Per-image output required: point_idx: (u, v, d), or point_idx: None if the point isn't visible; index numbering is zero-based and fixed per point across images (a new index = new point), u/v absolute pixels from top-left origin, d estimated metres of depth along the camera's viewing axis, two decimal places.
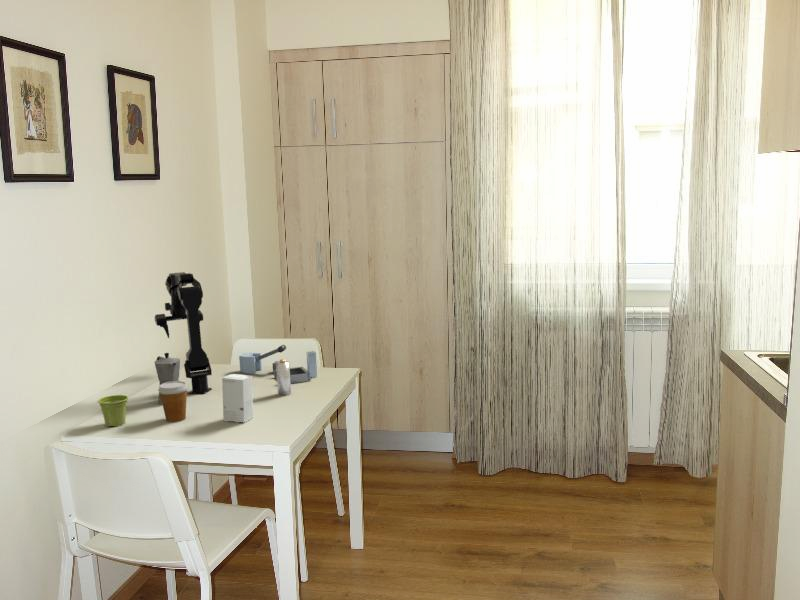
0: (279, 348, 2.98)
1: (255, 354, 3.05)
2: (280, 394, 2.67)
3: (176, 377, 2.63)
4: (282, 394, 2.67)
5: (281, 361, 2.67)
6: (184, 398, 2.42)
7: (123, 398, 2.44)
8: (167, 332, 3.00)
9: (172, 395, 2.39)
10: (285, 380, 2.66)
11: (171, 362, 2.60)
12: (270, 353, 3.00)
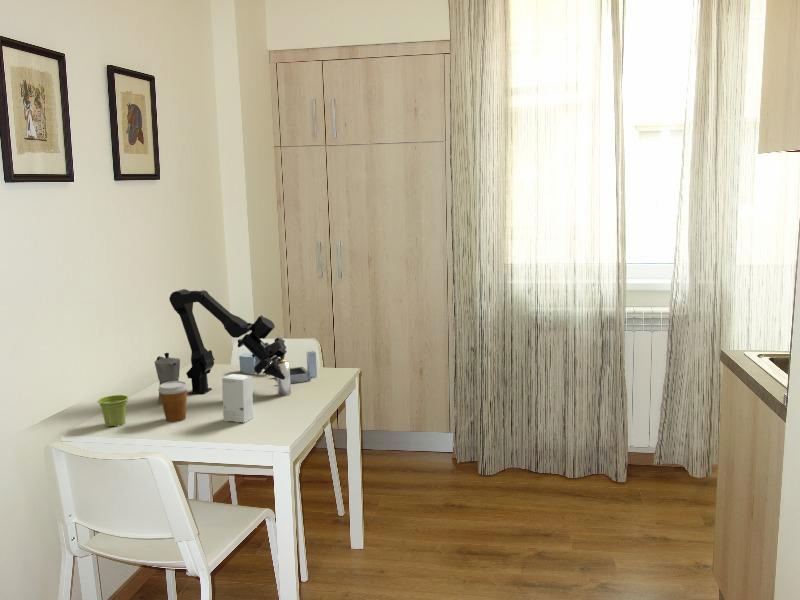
0: None
1: None
2: (280, 394, 2.67)
3: (176, 377, 2.63)
4: (282, 394, 2.67)
5: (281, 361, 2.67)
6: (184, 398, 2.42)
7: (123, 398, 2.44)
8: None
9: (172, 395, 2.39)
10: (285, 380, 2.66)
11: (171, 362, 2.60)
12: None
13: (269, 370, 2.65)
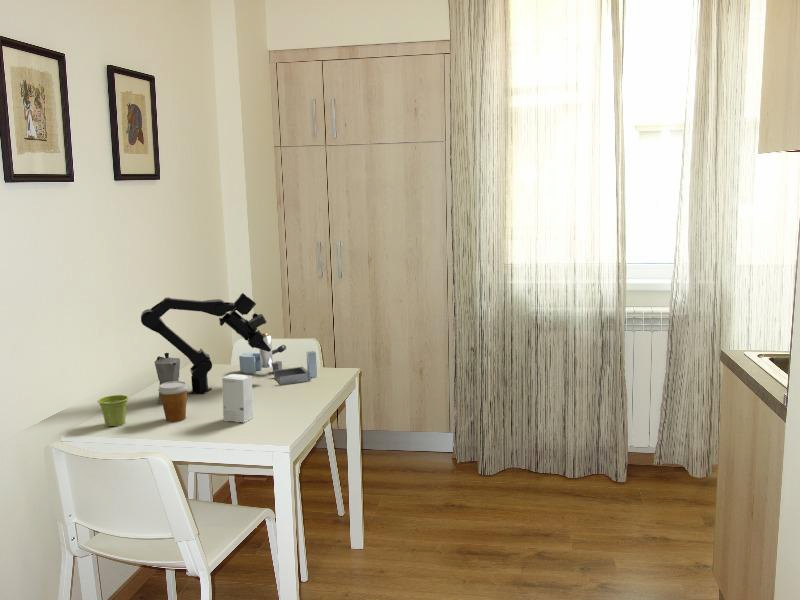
0: (279, 348, 2.98)
1: (255, 354, 3.05)
2: (265, 366, 2.82)
3: (176, 377, 2.63)
4: (267, 366, 2.82)
5: (265, 335, 2.82)
6: (184, 398, 2.42)
7: (123, 398, 2.44)
8: None
9: (172, 395, 2.39)
10: (270, 352, 2.82)
11: (171, 362, 2.60)
12: None
13: (257, 344, 2.78)
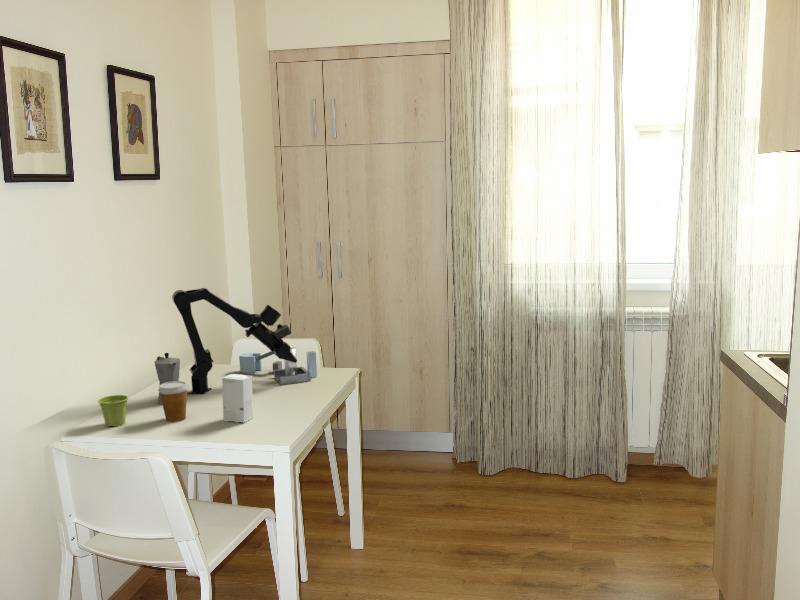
0: None
1: (255, 354, 3.05)
2: None
3: (176, 377, 2.63)
4: None
5: (290, 347, 2.87)
6: (184, 398, 2.42)
7: (123, 398, 2.44)
8: None
9: (172, 395, 2.39)
10: (295, 364, 2.88)
11: (171, 362, 2.60)
12: (270, 353, 3.00)
13: None
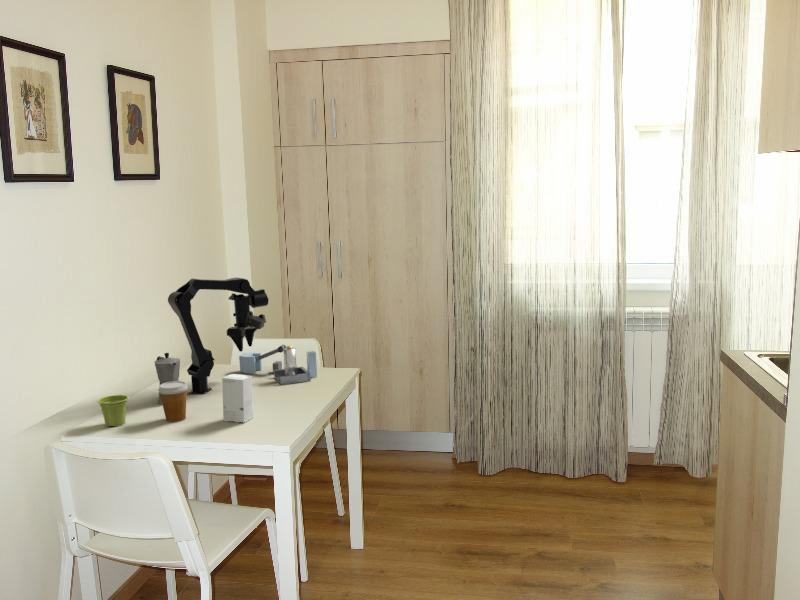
0: (279, 348, 2.98)
1: (255, 354, 3.05)
2: None
3: (176, 377, 2.63)
4: None
5: (289, 347, 2.87)
6: (184, 398, 2.42)
7: (123, 398, 2.44)
8: None
9: (172, 395, 2.39)
10: (295, 364, 2.88)
11: (171, 362, 2.60)
12: (270, 353, 3.00)
13: (235, 337, 2.81)
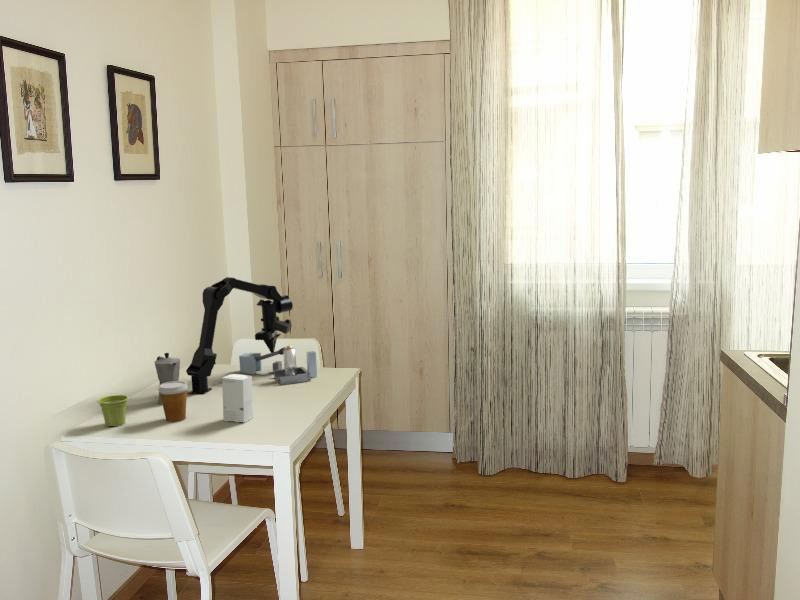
0: (280, 350, 2.98)
1: (255, 354, 3.05)
2: None
3: (176, 377, 2.63)
4: None
5: (289, 347, 2.87)
6: (184, 398, 2.42)
7: (123, 398, 2.44)
8: None
9: (172, 395, 2.39)
10: (295, 364, 2.88)
11: (171, 362, 2.60)
12: (271, 354, 3.00)
13: None
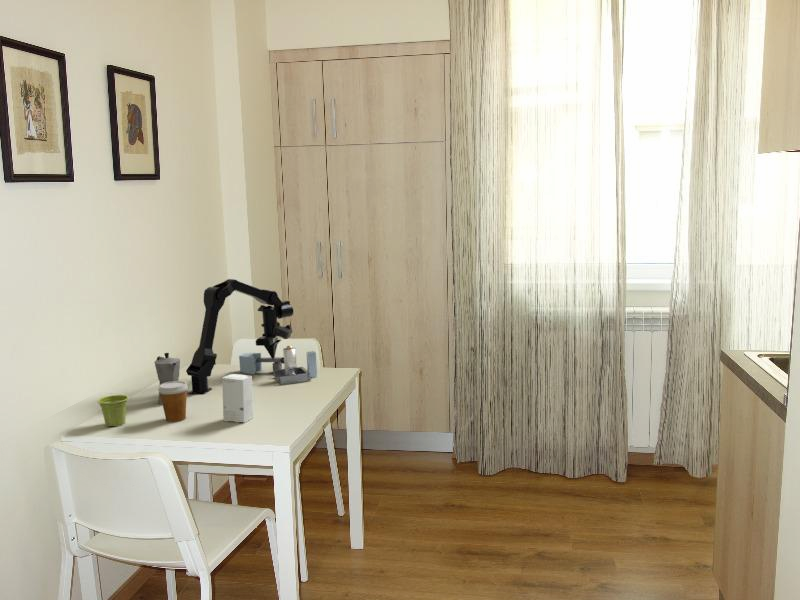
0: (282, 359, 2.98)
1: (255, 354, 3.05)
2: None
3: (176, 377, 2.63)
4: None
5: (290, 347, 2.86)
6: (184, 398, 2.42)
7: (123, 398, 2.44)
8: None
9: (172, 395, 2.39)
10: (295, 364, 2.88)
11: (171, 362, 2.60)
12: (272, 360, 3.00)
13: None
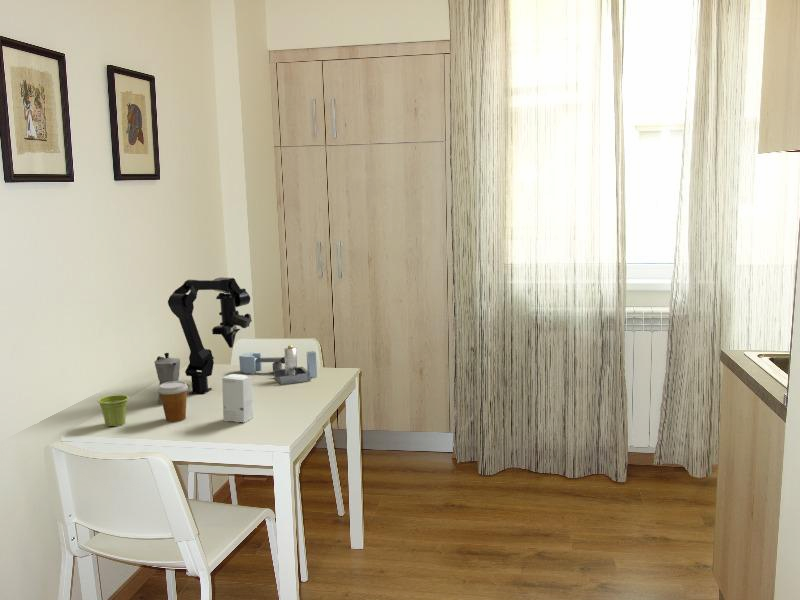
0: (282, 359, 2.98)
1: (255, 354, 3.05)
2: None
3: (176, 377, 2.63)
4: None
5: (291, 347, 2.87)
6: (184, 398, 2.42)
7: (123, 398, 2.44)
8: None
9: (172, 395, 2.39)
10: (296, 364, 2.88)
11: (171, 362, 2.60)
12: (272, 360, 3.00)
13: (225, 334, 2.89)
